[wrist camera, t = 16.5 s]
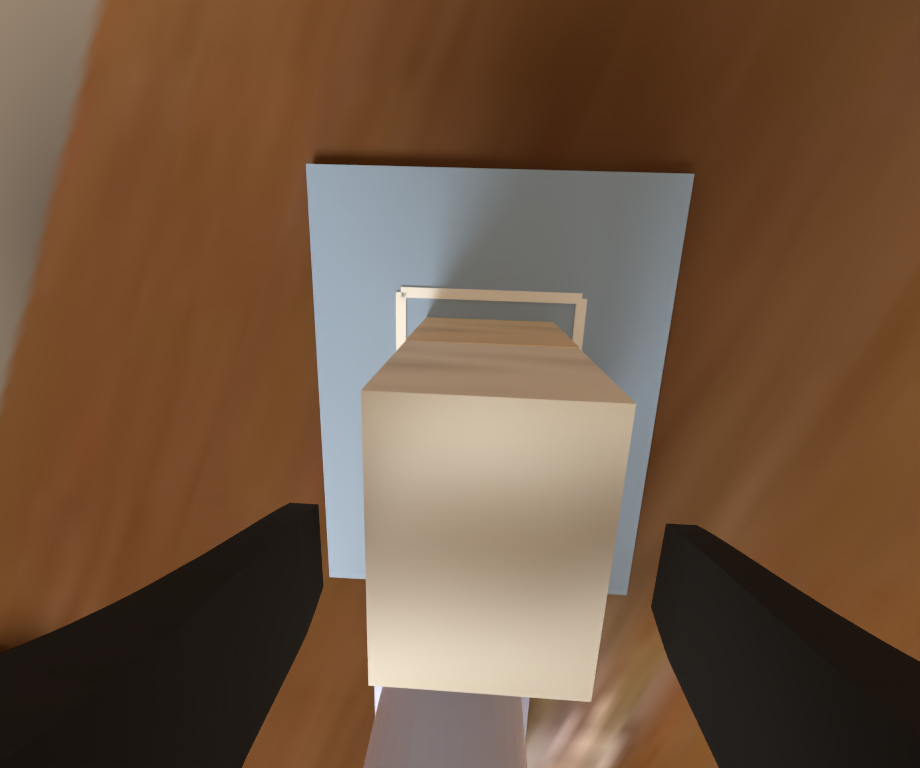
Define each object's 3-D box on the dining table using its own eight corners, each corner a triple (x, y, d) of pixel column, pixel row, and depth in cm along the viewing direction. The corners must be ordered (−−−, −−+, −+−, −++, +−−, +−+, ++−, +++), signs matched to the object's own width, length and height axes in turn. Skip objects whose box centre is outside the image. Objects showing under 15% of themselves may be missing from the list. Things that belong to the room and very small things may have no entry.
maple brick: (539, 482, 20) (557, 556, 15) (424, 476, 20) (405, 547, 15) (553, 322, 18) (579, 346, 13) (426, 317, 18) (405, 340, 13)
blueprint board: (622, 586, 22) (627, 596, 21) (333, 568, 22) (329, 578, 21) (687, 176, 17) (695, 173, 16) (311, 166, 17) (305, 163, 16)
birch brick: (556, 557, 15) (591, 701, 10) (405, 547, 15) (368, 685, 10) (579, 348, 13) (636, 404, 8) (405, 340, 13) (361, 390, 8)
